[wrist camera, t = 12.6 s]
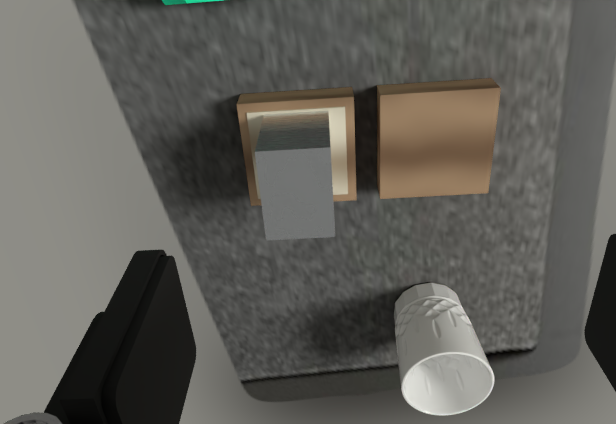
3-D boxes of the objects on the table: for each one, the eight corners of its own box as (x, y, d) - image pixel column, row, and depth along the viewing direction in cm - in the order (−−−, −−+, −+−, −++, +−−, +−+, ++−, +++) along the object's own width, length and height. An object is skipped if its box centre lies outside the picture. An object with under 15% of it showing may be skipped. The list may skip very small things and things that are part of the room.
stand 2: (377, 85, 42) (380, 95, 40) (491, 78, 42) (500, 87, 39) (377, 185, 47) (380, 198, 44) (480, 179, 46) (488, 193, 44)
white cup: (414, 346, 57) (432, 427, 48) (372, 302, 53) (383, 379, 45) (479, 313, 54) (510, 391, 45) (439, 264, 51) (465, 338, 42)
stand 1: (240, 94, 42) (236, 104, 40) (351, 87, 42) (354, 97, 40) (253, 191, 47) (250, 206, 45) (354, 186, 47) (356, 200, 44)
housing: (263, 114, 41) (254, 151, 35) (328, 110, 40) (330, 147, 34) (273, 194, 44) (266, 240, 38) (332, 190, 44) (335, 236, 38)
